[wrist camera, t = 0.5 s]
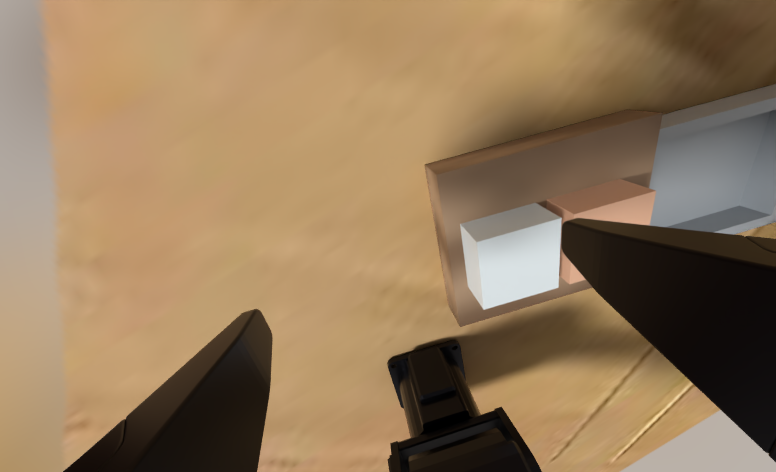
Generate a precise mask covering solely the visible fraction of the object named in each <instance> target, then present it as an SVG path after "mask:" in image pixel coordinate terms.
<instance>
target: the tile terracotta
mask: <svg viewBox="0 0 776 472" xmlns="http://www.w3.org/2000/svg"><path fill="white" fill-rule="evenodd" d="M655 195H656V190H653V189H650V188H646V187H643V186H640V185H637V184H634V183H631V182H628V181H625V180H622V179H618V180H614V181H610V182H607V183H603V184H600V185H596V186H593V187H589V188H586V189H582V190H579V191H575V192H572V193H568V194H564V195H561V196H557V197H554V198H550V199H547V204H546V209H547V210H549V211H551V212H552V213H554V214H556V215H557V216H559V217H561V218H562V220H561V237H562V224H563V223H564V222H565V221H568V220H571V219H575V218H585V219H594V220H603V221H613V222H622V223H631V224H640V225H650V221H651V216H652V211H653V206H654V201H655ZM559 276H560V277H561V278H562V279H564V280H565V281H566V282H567V283H568V284H573V283H576V282H579V281H583V280H586V279H585V278H584V277H583V276H582V275H581V273H580V272H579V271H578V270H577V269H576V268H575V266H574V265H573V264H572V263H571V262H570V261H569V259H568V258H567V257H566V256H565V255H564V253H563V251H562V248H561V242H560V265H559Z"/></svg>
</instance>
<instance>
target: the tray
mask: <svg viewBox="0 0 776 472" xmlns="http://www.w3.org/2000/svg"><path fill="white" fill-rule="evenodd" d="M649 188H650V189H653V190H656V195H655V201H654V206H653V211H652V216H651V221H650V226H659V227H668V228H678V229H687V230H696V231H705V232H715V233H724V234H733V235H734V234H737V233H740V232H744V231H747V230H751V229H754V228H757V227H761V226H764V225H767V224H771V223H774V222H776V84H773V85H770V86H766V87H762V88H759V89H755V90H751V91H748V92H744V93H740V94H737V95H733V96H729V97H726V98H722V99H719V100H715V101H711V102H708V103H704V104H700V105H697V106H693V107H689V108H686V109H682V110H678V111H675V112H671V113H668V114H664V115H662V120H661V126H660V131H659V137H658V142H657V148H656V153H655V159H654V164H653V169H652V175H651V180H650V186H649Z"/></svg>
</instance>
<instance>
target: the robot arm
mask: <svg viewBox="0 0 776 472" xmlns="http://www.w3.org/2000/svg"><path fill="white" fill-rule="evenodd" d="M561 248H562V251H563V253H564V255H565V256H566V257H567V258H568V259H569V261H570V262H571V263H572V264H573V265H574V266H575V268H576V269H577V270H578V271H579V272H580V273H581V275H582V276H583V277H584V278H585V279H586V280H587V282H588V283H589V284H590V285H591V286H592V287H593V288H594V289H595V291H596V292H597V293H598V294H599V295H600V296H601V297H602V298H603V299H604V300H605V301H606V302H608V303H609V304H610V305H611V306H612V307H613V308H614V309H615V310H616V311H617V312H618V313H619V314H620V315H621V316H622V317H623V318H624V319H625V320H627V321H628V322H629V323H630V324H631V325H632V326H633V327H634V328H635V329H636V330H637V331H638V332H639V333H640V334H641V335H642V336H643V337H645V338H646V339H647V340H648V341H649V342H650V343H651V344H652V345H653V346H654V347H655V348H656V349H657V350H658V351H659V352H660V353H661V354H662V355H664V356H665V357H666V358H667V359H668V360H669V361H670V362H671V363H672V364H673V365H674V366H675V367H676V368H677V369H678V370H679V371H680V372H681V373H683V374H684V375H685V376H686V377H687V378H688V379H689V380H690V381H691V382H692V383H693V384H694V385H695V386H696V387H697V388H698V389H699V390H700V391H702V392H703V393H704V394H705V395H706V396H707V397H708V398H709V399H710V400H711V401H712V402H713V403H714V404H715V405H716V406H717V407H718V408H719V409H721V410H722V411H723V412H724V413H725V414H726V415H727V416H728V417H729V418H730V419H731V420H732V421H733V422H734V423H735V424H736V425H738V427H740V428H741V429H742V430H743V431H744V432H745V433H746V434H747V435H748V436H749V437H750V438H751V439H752V440H754V442H755V443H756V444H758V445H759V446H760V447H761V448H762V449H763V450H764V451H765V452H766V453H769V456H770V457H771V458H772V459H773V460H774V461H775V462H776V239H771V238H762V237H752V236H746V237H744V236H742V235H733V234H724V233H715V232H705V231H696V230H687V229H678V228H668V227H659V226H650V225H640V224H631V223H622V222H613V221H603V220H594V219H585V218H575V219H571V220H568V221H565V222H564V223H563V224H562V237H561ZM453 346H454V347H453ZM271 360H272V333H271V330H270V328H269V326H268V324H267V322H266V320H265V318H264V316H263V315H262V313H261V311H260V310H258V309H254V310H250V311H247V312H244V313H242V314H241V315H240V316H239V317H237V318H236V319H235V320H234V321H233V322H232V323H231V324H230V325H229V326H227V327H226V328H225V329H224V330H223V331H222V332H221V333H220V334H218V335H217V336H216V337H215V338H214V339H213V340H212V341H211V342H209V343H208V344H207V345H206V346H205V347H204V348H203V349H202V350H201V351H199V352H198V353H197V354H196V355H195V356H194V357H193V358H192V359H190V360H189V361H188V362H187V363H186V364H185V365H184V366H183V367H181V368H180V369H179V370H178V371H177V372H176V373H175V374H174V375H172V376H171V377H170V378H169V379H168V380H167V381H166V382H165V383H164V384H162V385H161V386H160V387H159V388H158V389H157V390H156V391H155V392H153V393H152V394H151V395H150V396H149V397H148V398H147V399H146V400H144V401H143V402H142V403H141V404H140V405H139V406H138V407H137V408H136V409H134V410H133V411H132V412H131V413H130V414H129V415H128V416H127V417H126V419H124V420H122V421H121V422H120V423H119V424H117V425H116V426H115V427H114V428H113V429H112V430H111V431H110V432H109V433H107V434H106V435H105V436H104V437H103V438H102V439H101V440H99V441H98V442H97V443H96V444H95V445H94V446H93V447H91V448H90V449H89V450H88V451H87V452H86V453H84V454H83V455H82V456H81V457H80V458H79V459H78V460H76V461H75V462H74V463H73V464H72V465H70V466H69V467H68V468H67V469H66V470H64V471H63V472H257V468H258V462H259V456H260V450H261V443H262V437H263V431H264V425H265V419H266V412H267V406H268V400H269V393H270V382H271ZM387 364H388V369H389V372H390V375H391V378H392V381H393V384H394V387H395V390H396V393H397V396H398V399H399V402H400V405H401V407H402V408H404V410H405V415H406V419H407V424H408V428H409V433H410V437H411V438H410V439H407V440H404V441H401V442H398V441H396V442H393V443H391V454H392V455H390V458H389V459H388V465H389V472H542V471H541V469H540V467H539V465H538V463H537V461H536V460H535V458H534V456H533V454H532V453H531V451H530V449H529V448H528V446H527V445H526V443H525V442H524V440H523V439H522V437H521V436H520V434H519V433H518V431H517V430H516V428H515V427H514V425H513V423H512V422H511V420H510V419H509V417H508V416H507V414H506V413H505V411H504V410H503V408H502V407H499V408H496V409H495V410H494V411H491V412H488V413H485V414H482V415H481V414H480V412H479V410H478V407H477V405H476V403H475V401H474V398H473V396H472V394H471V392H470V390H469V387H468V385H467V383H466V379H465V373H464V367H463V360H462V354H461V348H460V345H459V343H458V341H456V340H453V341H449V342H446V343H442V344H439V345H436V346H432V347H429V348H426V349H422V350H419V351H416V352H412V353H409V354H406V355H402V356H399V357H396V358H392V359H390V360H389V361H388V362H387ZM393 364H394V365H393Z"/></svg>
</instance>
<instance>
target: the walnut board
mask: <svg viewBox="0 0 776 472" xmlns="http://www.w3.org/2000/svg"><path fill="white" fill-rule="evenodd" d="M662 115H663V113H659V112H648V111H636V110H624V111H620V112H617V113H613V114H609V115H606V116H602V117H598V118H595V119H591V120H587V121H584V122H580V123H576V124H573V125H569V126H565V127H562V128H558V129H554V130H551V131H547V132H543V133H540V134H536V135H532V136H529V137H525V138H521V139H517V140H514V141H510V142H506V143H503V144H499V145H495V146H492V147H488V148H484V149H481V150H477V151H473V152H470V153H466V154H462V155H459V156H455V157H451V158H448V159H444V160H440V161H437V162H433V163H429V164H426V165H425V169H426V175H427V181H428V187H429V193H430V199H431V204H432V210H433V216H434V222H435V228H436V234H437V240H438V245H439V251H440V257H441V263H442V269H443V275H444V280H445V286H446V292H447V298H448V304H449V307H450V309H451V311H452V313H453V315H454V316H455V318H456V320H457V322H458V324H459V326H460V327H462V326H465V325H468V324H472V323H475V322H478V321H482V320H485V319H488V318H492V317H495V316H499V315H502V314H505V313H509V312H512V311H515V310H519V309H522V308H525V307H529V306H532V305H535V304H539V303H542V302H545V301H549V300H552V299H556V298H559V297H562V296H566V295H569V294H572V293H576V292H579V291H582V290H586V289H589V288H592V286H591V285H590V284H589V283H588V282H587V280H583V281H579V282H576V283H573V284H568V283H567V282H566V281H565V280H564V279H562V278H561V277H560V276H559V287H558V288H556V289H552V290H549V291H546V292H542V293H539V294H536V295H532V296H529V297H525V298H522V299H519V300H515V301H512V302H509V303H505V304H502V305H498V306H495V307H492V308H488V309H485V310H484V309H483V308H482V307H481V305H480V304H479V302H478V301H477V299H476V298H475V296H474V295H473V293H472V292H471V290H470V289H469V287H468V282H467V274H466V266H465V259H464V251H463V243H462V235H461V227H460V224H462V223H465V222H469V221H472V220H476V219H480V218H483V217H487V216H490V215H494V214H497V213H501V212H504V211H508V210H511V209H515V208H518V207H522V206H526V205H529V204H533V203H537V204H539V205H540V206H542V207H544V208H545V209H546V204H547V199H550V198H554V197H557V196H561V195H564V194H568V193H572V192H575V191H579V190H582V189H586V188H589V187H593V186H596V185H600V184H603V183H607V182H610V181H614V180H618V179H622V180H625V181H628V182H631V183H634V184H637V185H640V186H643V187H646V188H649V186H650V180H651V175H652V169H653V164H654V159H655V153H656V148H657V142H658V137H659V131H660V126H661V120H662Z"/></svg>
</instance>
